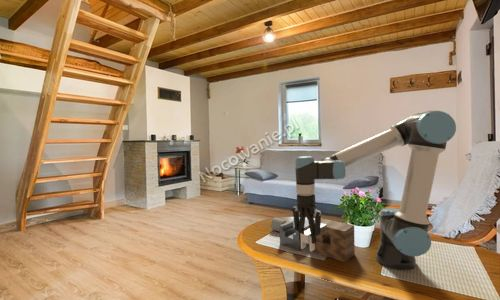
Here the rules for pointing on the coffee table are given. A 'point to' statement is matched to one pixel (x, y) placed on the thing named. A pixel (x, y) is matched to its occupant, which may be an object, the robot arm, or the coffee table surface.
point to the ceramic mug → (277, 223)
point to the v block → (291, 235)
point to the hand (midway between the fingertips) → (307, 248)
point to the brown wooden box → (336, 241)
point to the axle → (307, 233)
